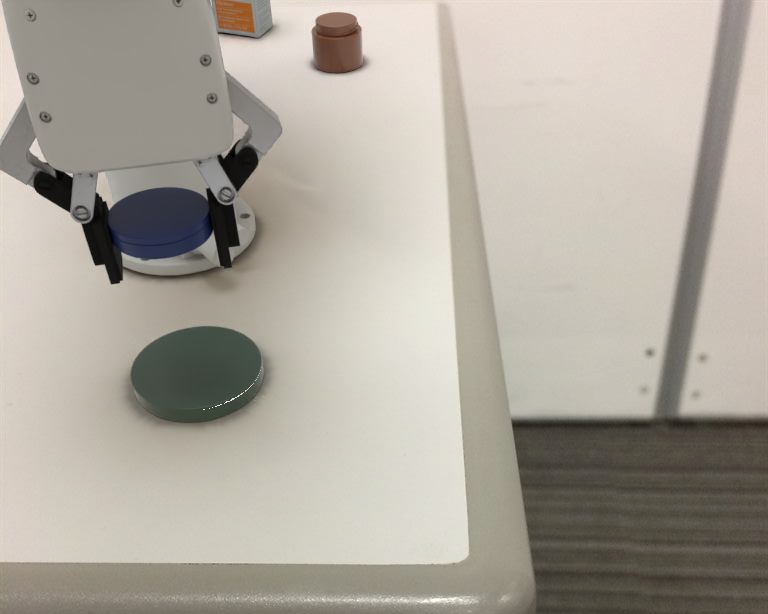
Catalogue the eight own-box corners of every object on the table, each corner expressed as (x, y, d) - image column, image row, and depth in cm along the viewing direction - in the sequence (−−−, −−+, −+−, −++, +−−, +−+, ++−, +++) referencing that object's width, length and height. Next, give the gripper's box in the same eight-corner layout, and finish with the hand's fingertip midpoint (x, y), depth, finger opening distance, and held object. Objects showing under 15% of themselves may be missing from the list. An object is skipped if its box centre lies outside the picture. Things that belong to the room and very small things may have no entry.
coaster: (289, 381, 57) (287, 368, 56) (177, 442, 53) (173, 428, 52) (218, 323, 61) (215, 310, 60) (111, 375, 58) (106, 362, 57)
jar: (373, 63, 93) (371, 19, 90) (334, 77, 91) (332, 32, 87) (342, 49, 96) (339, 6, 92) (304, 62, 93) (300, 19, 90)
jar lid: (211, 201, 50) (207, 181, 49) (218, 251, 47) (214, 231, 46) (112, 213, 50) (106, 193, 49) (111, 266, 46) (105, 245, 45)
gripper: (265, -128, 40) (300, 215, 54) (-105, -99, 38) (30, 251, 51) (287, -90, 35) (320, 277, 49) (-136, -54, 33) (22, 320, 46)
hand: (170, 261), depth 50 cm, fingers closed on jar lid, 5 cm apart
